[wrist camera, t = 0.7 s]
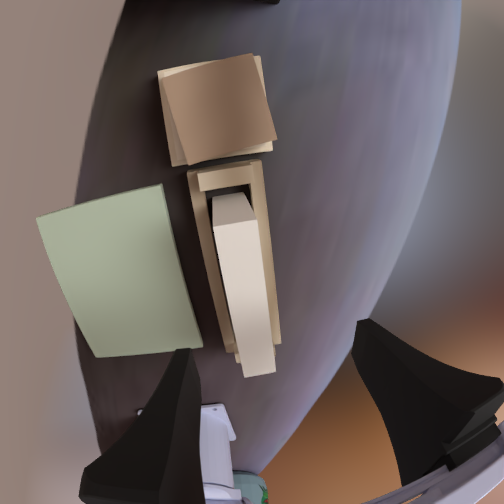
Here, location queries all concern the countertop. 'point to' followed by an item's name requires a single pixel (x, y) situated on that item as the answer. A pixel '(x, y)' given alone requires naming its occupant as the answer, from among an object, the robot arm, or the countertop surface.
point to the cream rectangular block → (244, 281)
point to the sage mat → (122, 273)
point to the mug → (251, 487)
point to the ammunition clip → (269, 1)
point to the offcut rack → (222, 155)
